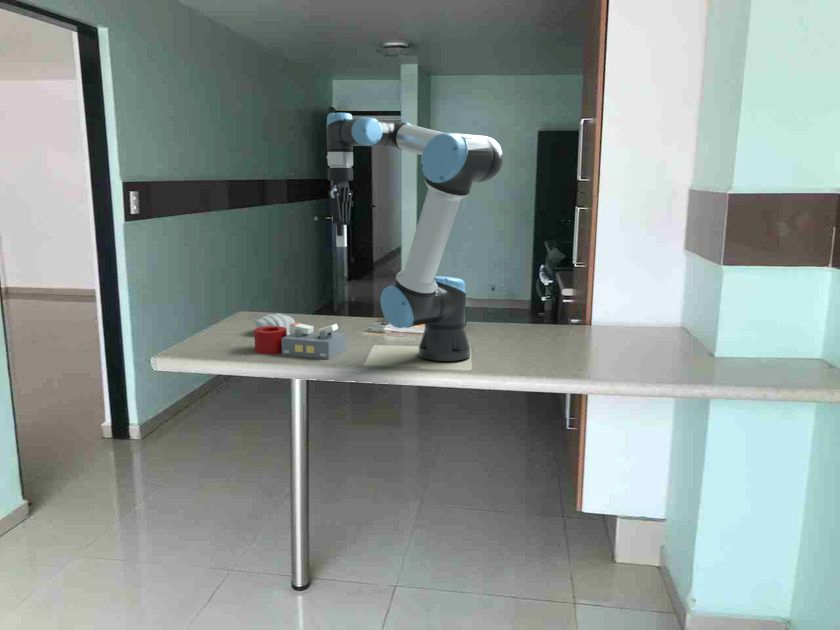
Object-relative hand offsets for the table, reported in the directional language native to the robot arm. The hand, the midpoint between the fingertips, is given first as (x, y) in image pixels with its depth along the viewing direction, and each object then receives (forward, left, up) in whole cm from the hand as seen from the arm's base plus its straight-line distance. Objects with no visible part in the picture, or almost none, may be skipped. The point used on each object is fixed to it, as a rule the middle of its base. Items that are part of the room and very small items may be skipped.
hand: (341, 246), depth 205 cm
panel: (+4, +13, -30) cm, 33 cm away
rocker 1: (+8, +13, -23) cm, 28 cm away
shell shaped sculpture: (+26, -5, -31) cm, 41 cm away
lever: (+17, +11, -31) cm, 37 cm away
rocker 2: (0, +13, -23) cm, 27 cm away
